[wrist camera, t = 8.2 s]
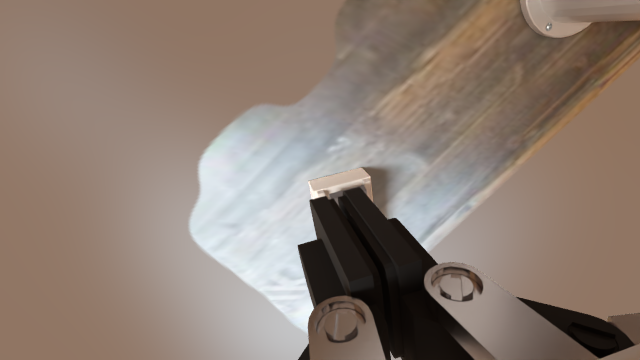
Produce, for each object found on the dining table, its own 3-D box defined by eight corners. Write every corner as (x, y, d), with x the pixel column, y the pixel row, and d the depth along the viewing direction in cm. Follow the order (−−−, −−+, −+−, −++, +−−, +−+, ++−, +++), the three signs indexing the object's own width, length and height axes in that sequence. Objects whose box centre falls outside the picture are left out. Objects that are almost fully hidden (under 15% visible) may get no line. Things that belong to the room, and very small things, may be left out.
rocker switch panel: (308, 180, 40) (315, 194, 37) (361, 167, 41) (373, 179, 38) (325, 268, 46) (333, 287, 42) (372, 254, 47) (383, 272, 43)
